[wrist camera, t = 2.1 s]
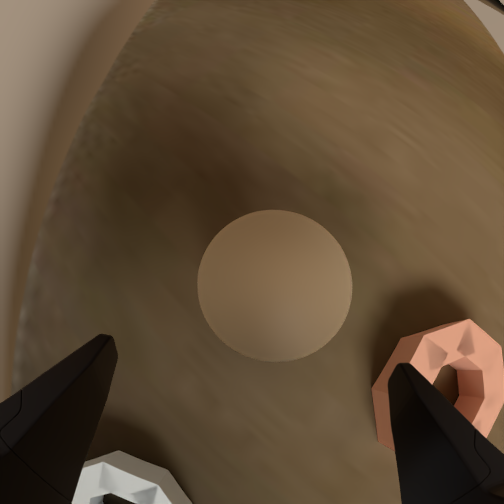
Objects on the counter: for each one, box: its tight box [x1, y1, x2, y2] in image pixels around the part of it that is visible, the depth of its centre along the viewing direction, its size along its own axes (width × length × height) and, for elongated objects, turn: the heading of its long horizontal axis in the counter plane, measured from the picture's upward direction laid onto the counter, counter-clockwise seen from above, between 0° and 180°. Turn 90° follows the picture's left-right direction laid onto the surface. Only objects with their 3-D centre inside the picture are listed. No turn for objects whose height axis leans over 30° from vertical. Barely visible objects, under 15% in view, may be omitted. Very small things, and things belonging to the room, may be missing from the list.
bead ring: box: [371, 319, 504, 451], centre depth 16 cm, size 9×9×3 cm
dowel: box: [197, 210, 352, 362], centre depth 12 cm, size 3×3×14 cm
